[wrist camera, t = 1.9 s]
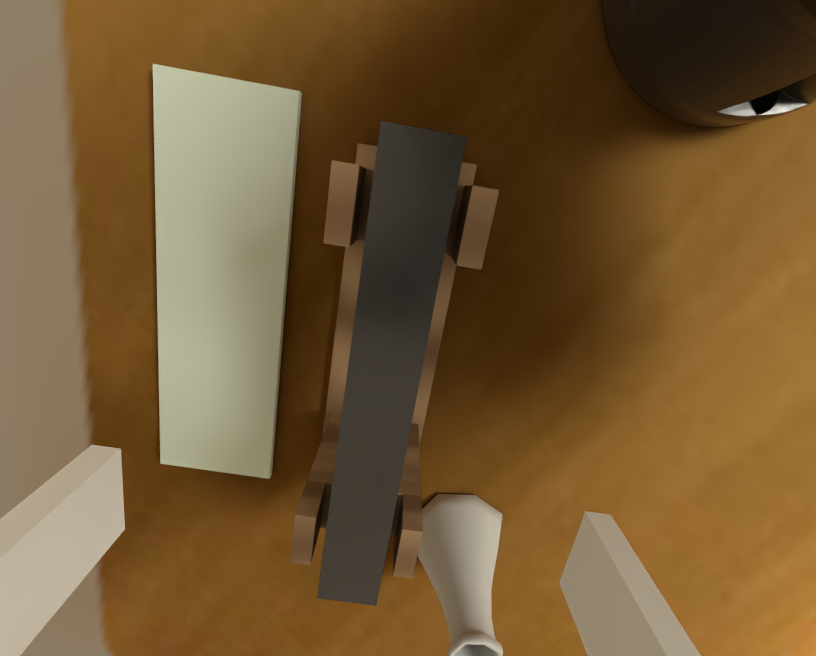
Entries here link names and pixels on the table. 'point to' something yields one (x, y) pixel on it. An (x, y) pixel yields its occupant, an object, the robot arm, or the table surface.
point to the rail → (387, 350)
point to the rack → (349, 231)
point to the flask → (463, 568)
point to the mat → (221, 264)
